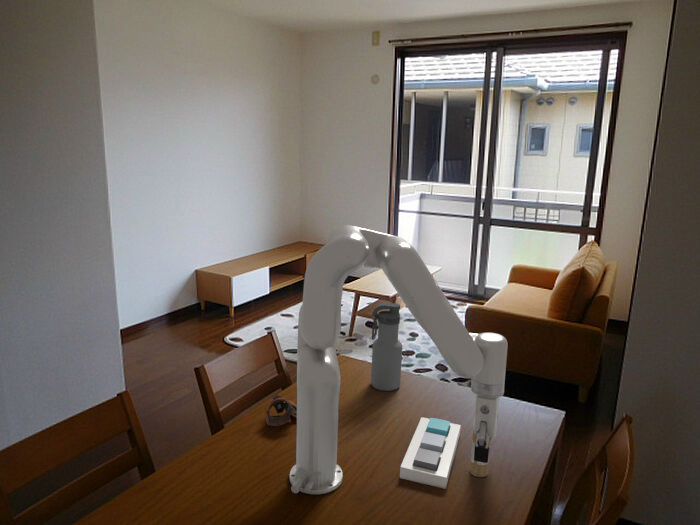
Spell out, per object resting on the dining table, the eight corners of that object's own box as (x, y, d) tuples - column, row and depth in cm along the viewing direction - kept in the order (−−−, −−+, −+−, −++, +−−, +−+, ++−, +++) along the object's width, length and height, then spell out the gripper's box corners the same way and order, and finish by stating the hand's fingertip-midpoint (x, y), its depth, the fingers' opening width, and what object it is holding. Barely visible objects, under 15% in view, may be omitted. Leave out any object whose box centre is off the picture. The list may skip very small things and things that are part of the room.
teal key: (446, 439, 137) (446, 431, 137) (426, 435, 139) (426, 426, 138) (449, 429, 142) (450, 421, 142) (429, 425, 144) (430, 417, 143)
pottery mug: (308, 426, 146) (299, 409, 141) (278, 445, 144) (268, 428, 139) (291, 398, 155) (282, 381, 150) (263, 416, 153) (253, 399, 148)
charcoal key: (435, 474, 122) (436, 464, 122) (413, 468, 124) (413, 459, 124) (439, 461, 127) (440, 452, 127) (417, 456, 129) (418, 447, 129)
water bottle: (366, 389, 168) (370, 307, 162) (372, 377, 178) (376, 298, 172) (398, 393, 166) (403, 310, 160) (401, 380, 176) (406, 301, 169)
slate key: (441, 455, 130) (442, 446, 129) (420, 451, 132) (420, 442, 131) (444, 444, 135) (445, 436, 134) (424, 440, 137) (424, 431, 136)
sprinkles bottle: (484, 480, 124) (490, 429, 121) (466, 474, 126) (471, 424, 123) (489, 470, 128) (495, 421, 125) (471, 464, 130) (476, 415, 127)
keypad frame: (445, 489, 120) (446, 477, 120) (399, 477, 124) (400, 466, 123) (459, 434, 143) (460, 425, 143) (420, 426, 147) (421, 417, 146)
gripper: (502, 404, 113) (496, 474, 117) (506, 372, 129) (500, 434, 133) (467, 399, 115) (462, 467, 119) (475, 368, 131) (471, 429, 135)
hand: (482, 450), depth 126 cm, fingers open, 9 cm apart
